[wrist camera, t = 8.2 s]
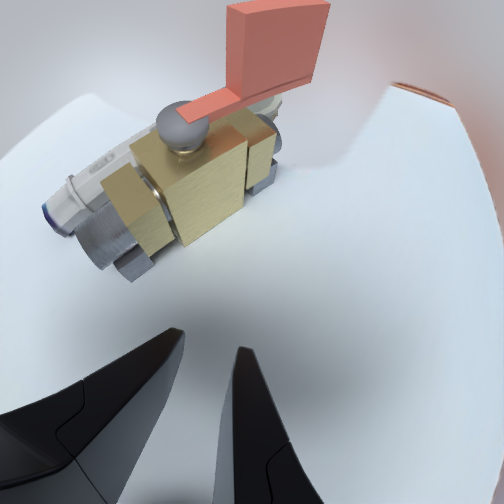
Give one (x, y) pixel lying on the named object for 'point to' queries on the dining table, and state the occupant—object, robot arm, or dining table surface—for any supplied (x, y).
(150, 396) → the robot arm
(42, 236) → the dining table surface
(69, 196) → the white flashlight
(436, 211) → the dining table surface
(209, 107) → the lever
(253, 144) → the valve
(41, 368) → the dining table surface
